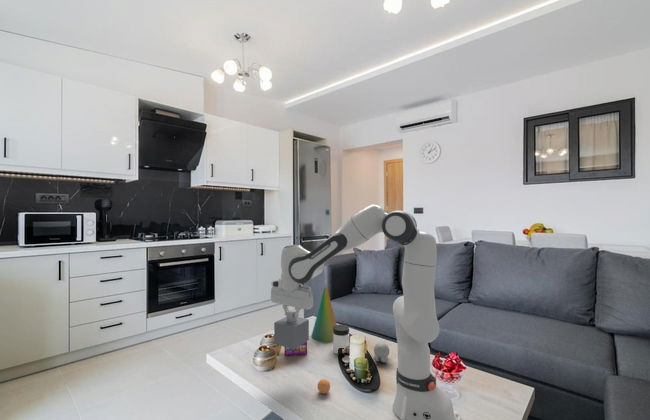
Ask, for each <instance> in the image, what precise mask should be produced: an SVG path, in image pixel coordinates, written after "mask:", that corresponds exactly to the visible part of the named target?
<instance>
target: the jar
mask: <svg viewBox="0 0 650 420" xmlns="http://www.w3.org/2000/svg"><path fill="white" fill-rule="evenodd" d="M347 346H349V347H350V327H349V326H348V325H347V324H337V325H335V326H334V327H333V342H332V352H333V354H335V355H338V354H337V353H338V349H339V348H345V347H347Z"/></svg>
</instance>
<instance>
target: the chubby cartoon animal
mask: <svg viewBox="0 0 650 420" xmlns="http://www.w3.org/2000/svg"><path fill="white" fill-rule="evenodd" d="M373 353H374V355H373V358H372V359H373V361H375V362H382V363H388V357H389V355H390V348H389V346H388V344H386V343H385V342H383V341H381V342H379V341H378V342H377V343H376V344H375V345H374V347H373Z"/></svg>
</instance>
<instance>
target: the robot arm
mask: <svg viewBox="0 0 650 420" xmlns="http://www.w3.org/2000/svg"><path fill="white" fill-rule="evenodd" d="M417 226H418V225H417V221H416V218H415V217H414V216H413V215H411V214H410V213H409V212H408V211H405V210H393V211H390V212H388V213H387V212H386V211H385V210H384V209H383V208H382V207H381V206H380V205H377V204H370V205H367V206H366V207H364V208H362V209H360V210H358V212H356V213H355V214H353V215H352V216H350V217H348V218H347V220H346V221H345V222H344V223H342V224H341V225H340V227H338V228H337V230H336V231H335V232H334V233H332V234H331V236H330V237H328V238H327V239H326V240H325V241H323V242H322V243H321V244H320V245H318V246H317V247H315V248H314V249H313V250H310V251H309V250H307V249H306V248H304V247H303V246H302V245H301V244H290V245H286V246H284V247H283V248H282V250H281V257H280V258H281V259H280V268H281V274H280V278H278V279H275V280H273V281H271V282H270V283H271V285H270V286H272V287H271V288H270V300H271V302H272V303H274V304H278V305H282V309H283V310H284V316H285V317H287V311H290V310H289V307H292V308H294V311H296V312H295V313H293V317H295V318H297V317H300V315H299V313H300V311H301V310H306V311H309V310H311V309H313V307H314V297H313V289H312V288H311V287H310V285H303V284H306V283H307V282H309V281H310V280H312V279H314V278H315V277H317V276H318V275H319V276H320V274H321V273H322V272H324V268H325V263H326V262H328V261H329V260H331V259H332V258H334V257H335V256H336V255H339V254H341V253H344V252H346V251H349V250H350V251H351V250H352V249H355V248H357V247H359V246H361V245H364V244H365V243H367V242H368V241H369V240H370V239H372V238H374V237H375V236H376V235H377V234H379V233H383V234H384V235H385V237H387V239H389V240H391V241H392V242H396V243H397V244H400V245H402V246H403V247H404V256H403V257H404V258H403V266H402V274H401V277H402V278H401V285H402V286H401V287H402V294H403V295H401V296H398V297H397V298H396V299H395V300H394V302H393V305H392V311H393V317H394V327H395V335H396V343H397V368H396V371H395V373H396V374H395V376H396V377H395V379H396V391H395V392H396V393H395V398H394V402H393V405H392V410H393V412H394V414H395V415H396V417H397V418H399V420H461V419H462V418H461V415H460V413H459V411H458V410H456V409H454V405H453V402H452V401H453V400H452V399H451V397H450V396H449V395H447V393H445V392H444V391H443V390H442V389H441V388H440V387H439V386H438V385H437V374H435V375H433V374H432V372H431V349H430V347H429V343H432V342H434V341H435V340H436V339H437V338H438V336H439V334H440V327H441V326H440V323H439V320H438V318H437V308H436V299H435V298H436V297H435V282H436V279H435V278H436V270H437V262H438V261H437V258H438V257H437V255H438V254H437V241H436V238H435V237H434V236H433V235H432V234H430V233H429V232H426V231H420V230H419V229H418V228H417Z"/></svg>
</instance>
